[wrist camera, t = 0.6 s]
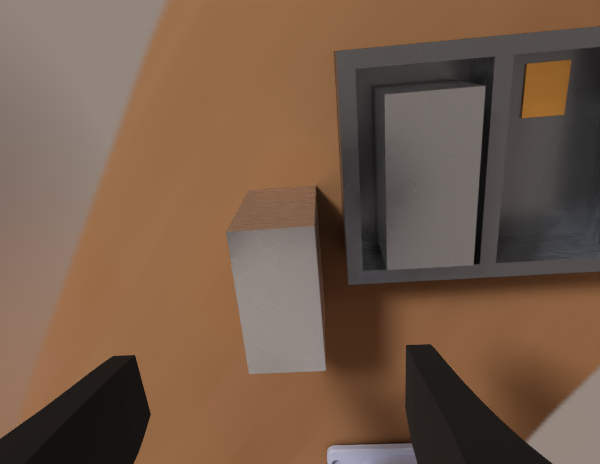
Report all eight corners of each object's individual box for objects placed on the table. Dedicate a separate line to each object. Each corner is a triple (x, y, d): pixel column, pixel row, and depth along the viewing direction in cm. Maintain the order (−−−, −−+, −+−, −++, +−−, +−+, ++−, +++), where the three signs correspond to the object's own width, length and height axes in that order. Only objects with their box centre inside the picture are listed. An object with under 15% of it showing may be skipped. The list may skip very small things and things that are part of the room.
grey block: (324, 302, 22) (325, 370, 17) (264, 305, 22) (248, 374, 17) (315, 184, 19) (314, 226, 15) (248, 189, 20) (226, 231, 15)
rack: (592, 238, 20) (665, 289, 15) (344, 253, 20) (350, 304, 16) (630, 23, 16) (735, 13, 12) (333, 51, 17) (337, 51, 13)
